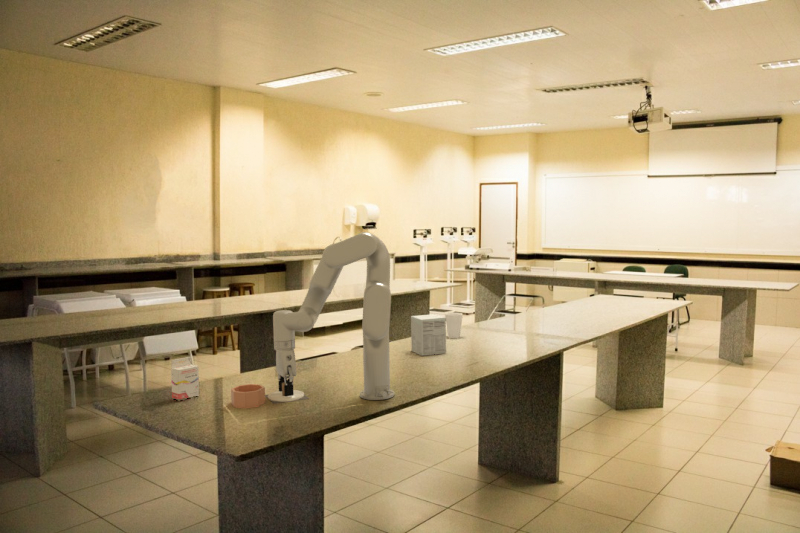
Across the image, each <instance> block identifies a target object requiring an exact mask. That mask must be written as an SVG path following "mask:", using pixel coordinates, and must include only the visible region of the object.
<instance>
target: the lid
mask: <svg viewBox="0 0 800 533" xmlns="http://www.w3.org/2000/svg"><path fill="white" fill-rule="evenodd" d="M284 385H285V382H283V383H282V392H279V390H277V391H273V392H271V393H269V394H267V395H268V399H269V401H270V402H271V401H274V402H285V403H291V402H290V401H292V402H297V401H296V400H298V401H300V400H299V399H302V398H303V397H304V395H305V392H304V391H302V390H297V389H293V393H294V395H292V396H285V395H284Z"/></svg>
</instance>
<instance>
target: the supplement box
mask: <svg viewBox="0 0 800 533" xmlns="http://www.w3.org/2000/svg"><path fill="white" fill-rule="evenodd" d="M410 332H411V342H410V344H411V352H413V353H414V354H417V355H419V356H434V354H435V355H443V354H447V324H446V318H445V316H441V315H438V314H432V313H431V314H422V315H421V314H420V315H411V316H410Z"/></svg>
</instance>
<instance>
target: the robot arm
mask: <svg viewBox="0 0 800 533" xmlns="http://www.w3.org/2000/svg"><path fill="white" fill-rule="evenodd" d="M322 251H323V252H322V256H321V257H320V260H319V262H318V264H317V266H316V268H315V271H314V273H313V275H312V276H311V279H310V282H309V286H308V290H307V293H306V295H305V297H304V299H303V301H302V303H301V305H300V308H299V309H298V311H294V312H293V311H292V310H289V309H288V310H287V309H282V310H276V311H275V312H273V313H272V314H273V315H272V325H273V329H272V330H273V350H275V368H276V369H275V370H276V373H277V375H278V382H277V383H278V391H279V392H282V383H283V382H285V385H284V395H285V396H292V395H294V393H293V390H294V377H296V376H297V364H296V362H297V361H296V355H295V349H296V336H295V335H296V333H295V332H300V333H301V332H302V333H303V332H309V331H310V330H312V329H313V327H314V326H315V324H316V323H317V320H318V318H319V316H320V314H321V312H322V310H323V308H324V306H325V304H326V301H327V300H328V298H329V296H330V295H331V294H332V291H333V289H334V288H335V285H336V283H337V281H338V279H339V277H340V275H341V272H342V271H343V268H344V267H345V266H348V265H350V264H354V263H355V262H359V261H360V260H361V261H362V259H363V260H364V259H365V260H366V278H365V281H366V282H365V289H364V292H363V303H362V304H363V306H362V307H363V308H362V319H361V320H362V323H361V324H362V325H361V326H362V327H361V330H362V349H363V350H362V351H363V352H362V354H363V356H362V358H363V361H362V362H363V390H361V391H360V392H359V397H360V398H362V399H364V400H369V401H381V400H383V401H385V400H388V399H392V398H393V397H395V391H394V390H392V389H391V381H390V380H391V370H390V366H391V365H390V361H391V360H390V322H391V319H390V318H391V305H392V304H391V303H392V293H391V292H392V291H391V288H390V287H391V286H390V284H391V283H390V282H391V257H390V256H391V255H390V253H389V250H388V248H387V246H386V244H385V243H384V242H383V241H382V240H381V239H380V238H379V237H378V236H376V235H375V234H373V233H371V232H369V231H364V232H363V231H362V232H360V233H358V234H355V235H354V236H351V237H349V238H346V239H344V240H341V241H339V242H335V243H332V244H328V246H326V247H325V248H324V250H322Z"/></svg>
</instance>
